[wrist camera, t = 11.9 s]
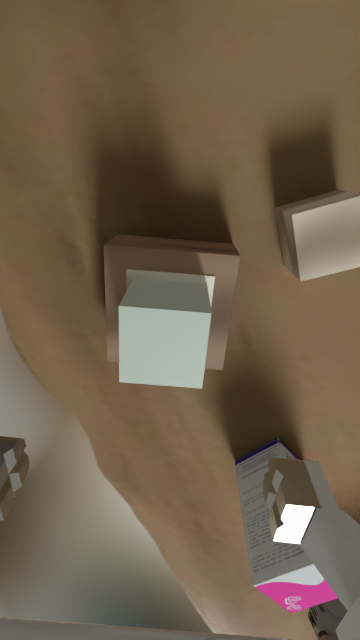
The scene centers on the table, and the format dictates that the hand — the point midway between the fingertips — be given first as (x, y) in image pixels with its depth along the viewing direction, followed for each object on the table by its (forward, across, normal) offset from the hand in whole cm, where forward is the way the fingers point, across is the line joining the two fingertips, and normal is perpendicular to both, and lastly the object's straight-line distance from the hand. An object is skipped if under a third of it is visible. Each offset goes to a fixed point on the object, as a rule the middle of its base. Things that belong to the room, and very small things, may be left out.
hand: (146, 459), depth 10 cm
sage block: (+13, 0, +1) cm, 13 cm away
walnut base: (+17, 0, +1) cm, 17 cm away
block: (+17, -10, -5) cm, 21 cm away
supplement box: (+17, -12, +20) cm, 29 cm away
